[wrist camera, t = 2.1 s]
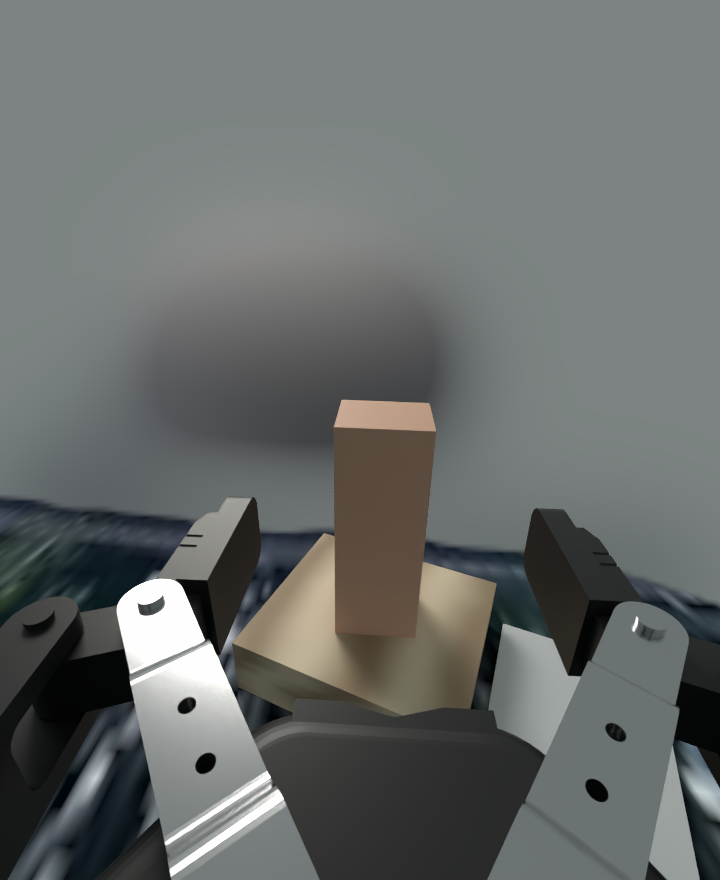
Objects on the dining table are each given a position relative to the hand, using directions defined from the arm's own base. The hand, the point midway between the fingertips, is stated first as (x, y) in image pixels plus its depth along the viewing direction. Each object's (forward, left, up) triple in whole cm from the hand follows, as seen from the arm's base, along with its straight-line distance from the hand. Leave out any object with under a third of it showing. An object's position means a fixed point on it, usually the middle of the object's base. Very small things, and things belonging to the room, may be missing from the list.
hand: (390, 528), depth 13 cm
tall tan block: (-4, +11, -15) cm, 19 cm away
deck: (-4, +11, -19) cm, 22 cm away
